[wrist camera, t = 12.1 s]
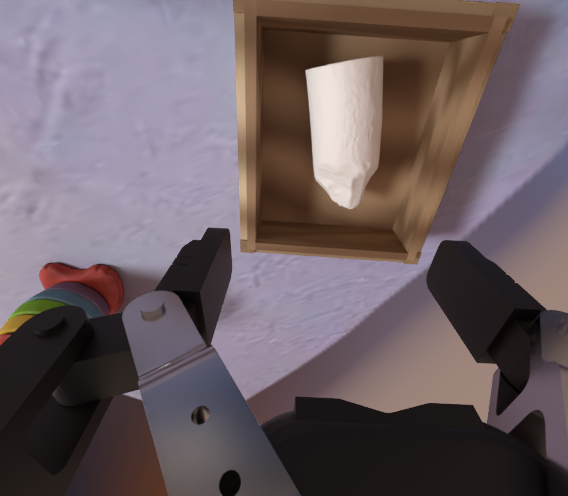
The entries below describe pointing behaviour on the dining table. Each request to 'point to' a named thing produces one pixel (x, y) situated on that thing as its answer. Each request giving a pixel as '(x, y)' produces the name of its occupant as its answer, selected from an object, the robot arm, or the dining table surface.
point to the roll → (346, 125)
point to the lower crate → (445, 3)
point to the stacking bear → (70, 294)
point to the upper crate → (395, 121)
